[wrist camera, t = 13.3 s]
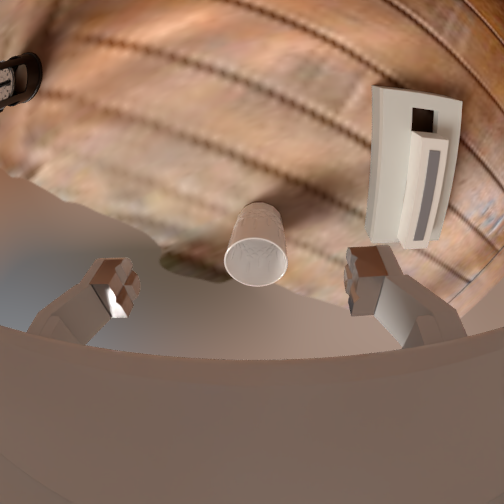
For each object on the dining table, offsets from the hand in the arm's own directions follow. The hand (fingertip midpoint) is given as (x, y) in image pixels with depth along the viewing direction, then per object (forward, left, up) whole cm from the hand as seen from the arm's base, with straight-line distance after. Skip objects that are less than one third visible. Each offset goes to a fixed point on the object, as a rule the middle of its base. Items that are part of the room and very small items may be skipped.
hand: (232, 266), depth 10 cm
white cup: (+16, -2, -29) cm, 33 cm away
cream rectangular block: (+9, +20, -28) cm, 36 cm away
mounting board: (+7, +20, -29) cm, 36 cm away
